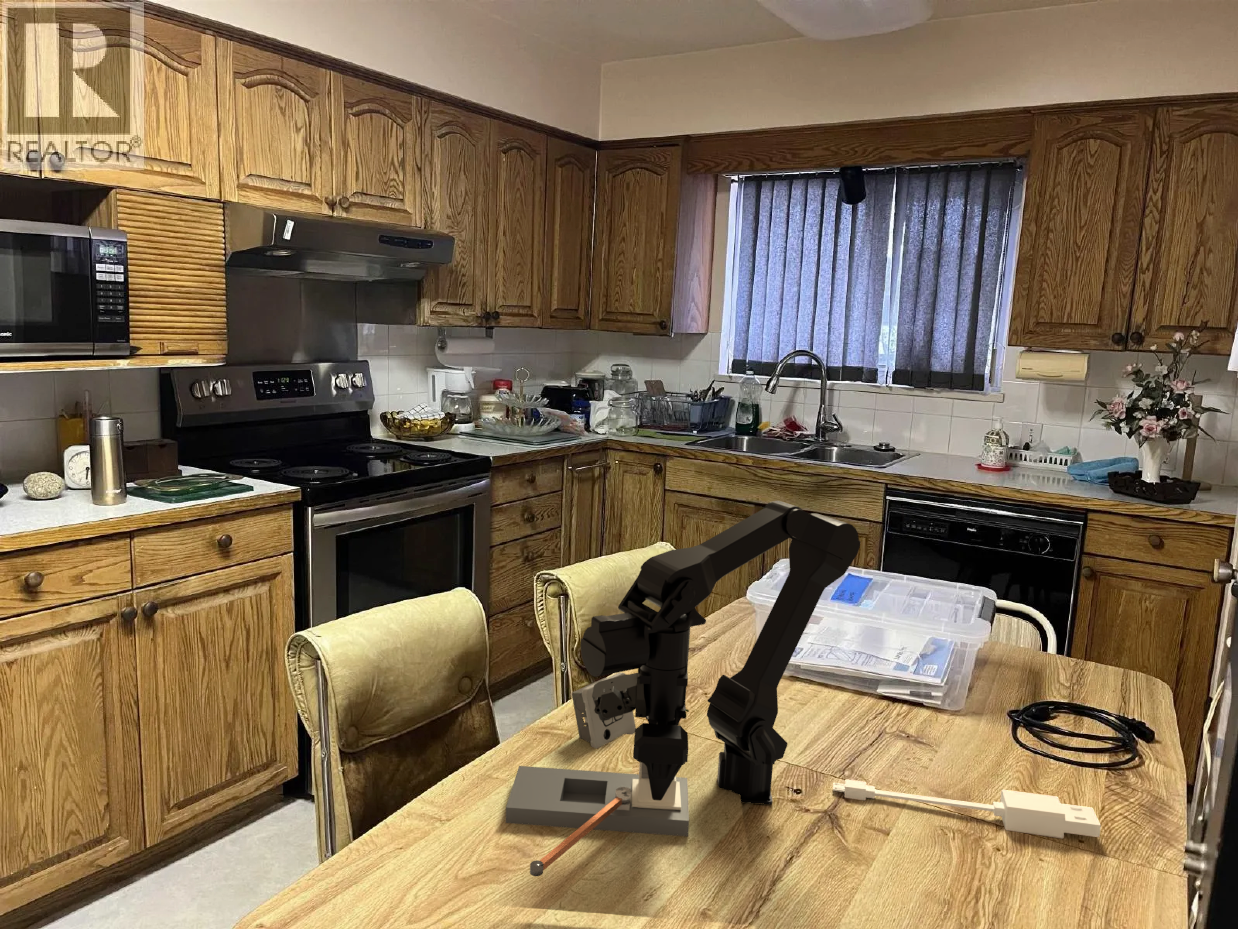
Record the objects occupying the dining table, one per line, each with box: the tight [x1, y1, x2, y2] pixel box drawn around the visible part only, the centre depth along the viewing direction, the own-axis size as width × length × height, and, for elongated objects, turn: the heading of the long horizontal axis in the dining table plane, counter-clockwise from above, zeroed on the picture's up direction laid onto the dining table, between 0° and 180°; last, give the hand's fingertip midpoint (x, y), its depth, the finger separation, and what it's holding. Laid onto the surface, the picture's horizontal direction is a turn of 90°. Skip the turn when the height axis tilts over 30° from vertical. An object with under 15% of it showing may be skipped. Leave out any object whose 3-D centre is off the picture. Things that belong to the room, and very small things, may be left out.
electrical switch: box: [571, 672, 637, 749], centre depth 134 cm, size 9×5×9 cm, turn 141°
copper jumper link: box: [529, 787, 632, 877], centre depth 104 cm, size 19×2×1 cm, turn 148°
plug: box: [632, 762, 681, 811], centre depth 114 cm, size 6×6×6 cm
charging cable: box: [832, 778, 1102, 840], centre depth 119 cm, size 5×32×3 cm, turn 76°
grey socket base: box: [505, 765, 690, 837], centre depth 114 cm, size 22×10×4 cm, turn 87°
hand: (657, 779), depth 114 cm, fingers open, 9 cm apart
